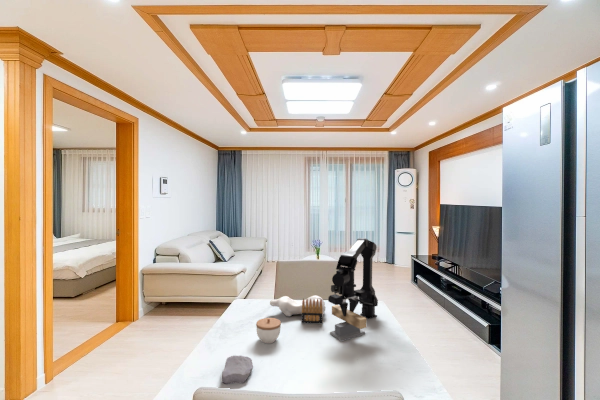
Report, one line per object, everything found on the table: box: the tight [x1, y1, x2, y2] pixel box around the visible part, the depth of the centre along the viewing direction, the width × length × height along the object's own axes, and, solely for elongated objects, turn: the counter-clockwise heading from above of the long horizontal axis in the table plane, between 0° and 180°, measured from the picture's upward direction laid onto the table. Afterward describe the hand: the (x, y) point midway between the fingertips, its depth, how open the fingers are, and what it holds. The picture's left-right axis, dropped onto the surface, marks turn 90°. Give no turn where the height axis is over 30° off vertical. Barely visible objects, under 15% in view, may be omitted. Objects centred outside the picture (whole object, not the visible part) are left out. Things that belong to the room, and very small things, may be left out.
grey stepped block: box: [329, 321, 366, 342], centre depth 135 cm, size 14×8×5 cm, turn 121°
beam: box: [331, 304, 367, 330], centre depth 135 cm, size 20×4×4 cm, turn 31°
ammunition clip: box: [300, 298, 324, 325], centre depth 148 cm, size 11×2×12 cm, turn 87°
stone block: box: [221, 355, 254, 385], centre depth 104 cm, size 12×5×10 cm
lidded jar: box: [255, 317, 282, 344], centre depth 129 cm, size 11×11×9 cm
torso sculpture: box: [269, 294, 326, 317], centre depth 159 cm, size 16×11×30 cm
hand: (347, 315), depth 136 cm, fingers closed on beam, 3 cm apart
